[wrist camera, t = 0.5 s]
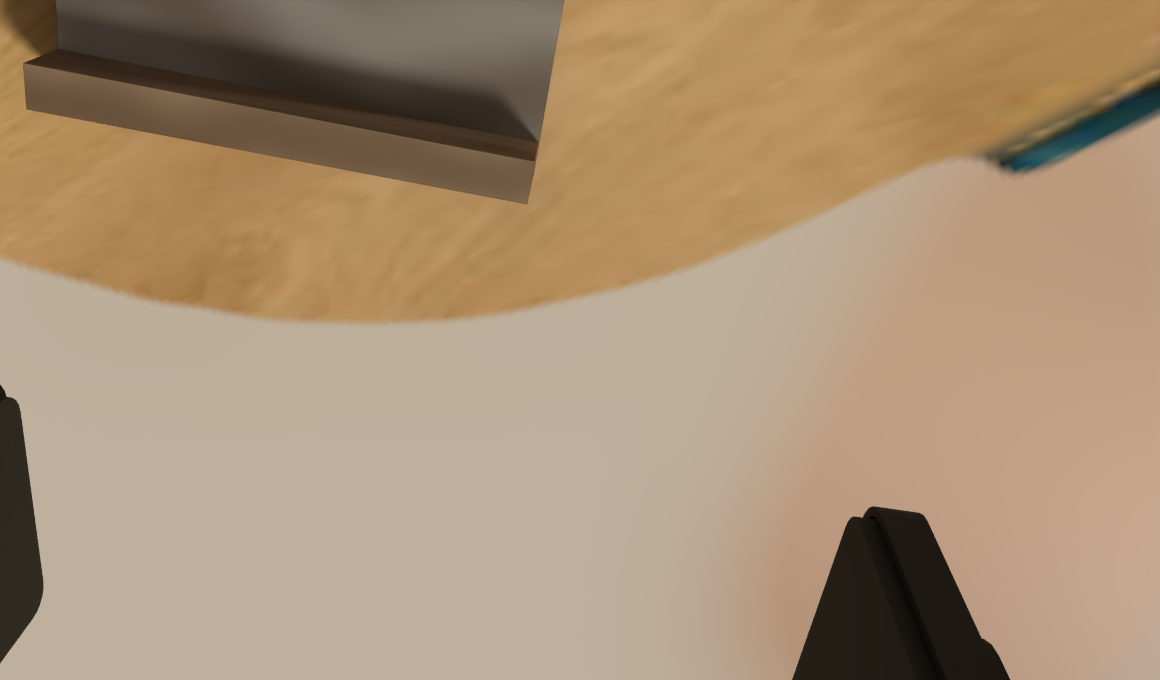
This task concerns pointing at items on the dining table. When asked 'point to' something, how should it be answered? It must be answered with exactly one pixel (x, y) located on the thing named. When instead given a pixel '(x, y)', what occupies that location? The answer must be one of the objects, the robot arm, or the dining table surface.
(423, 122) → the u rest
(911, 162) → the dining table surface
